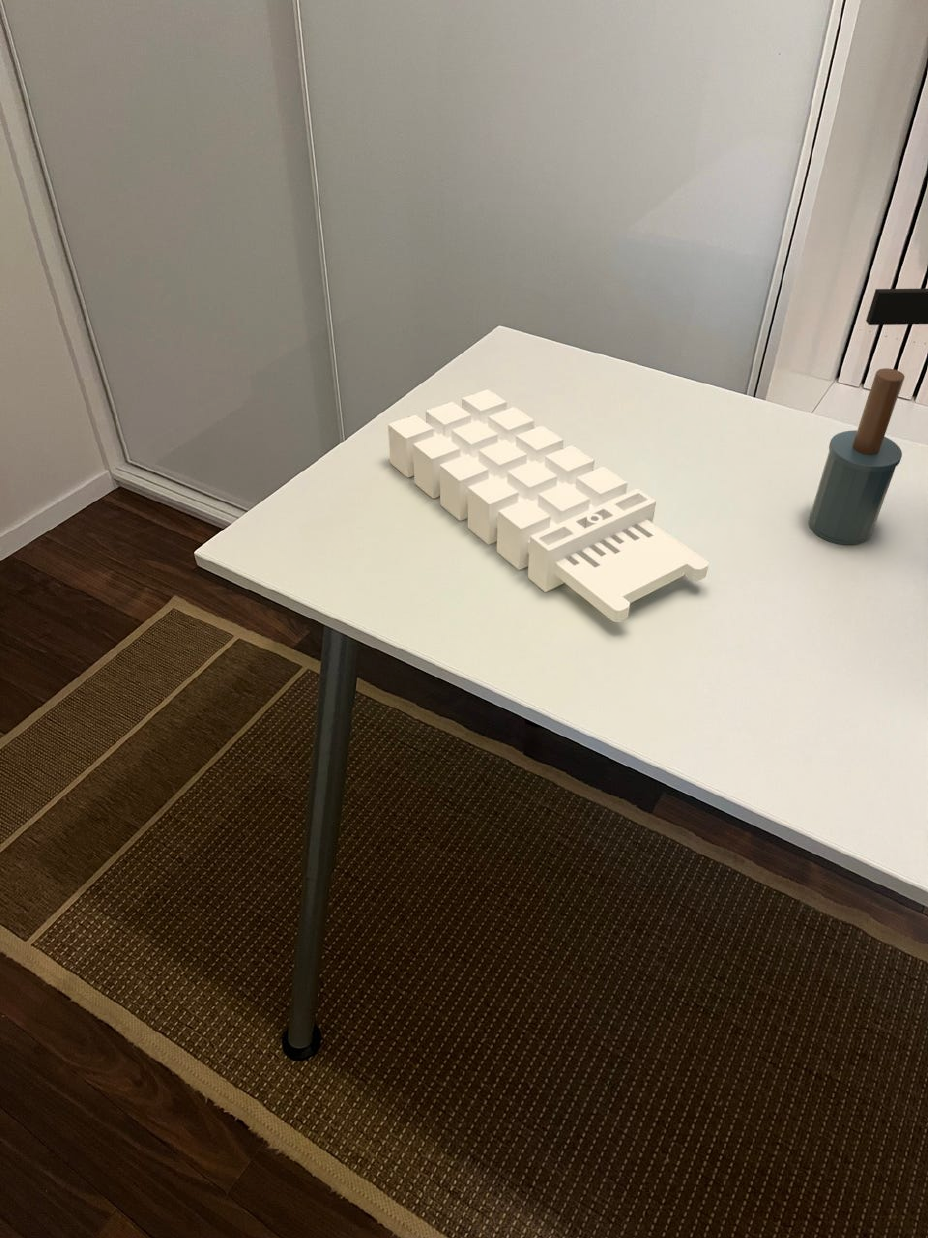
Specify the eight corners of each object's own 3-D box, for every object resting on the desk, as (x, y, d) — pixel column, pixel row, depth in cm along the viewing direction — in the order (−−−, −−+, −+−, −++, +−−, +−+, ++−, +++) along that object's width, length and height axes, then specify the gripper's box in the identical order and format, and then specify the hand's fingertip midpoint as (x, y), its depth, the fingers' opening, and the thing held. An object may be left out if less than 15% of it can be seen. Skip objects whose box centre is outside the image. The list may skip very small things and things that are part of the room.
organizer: (487, 389, 105) (721, 545, 84) (486, 426, 108) (712, 586, 87) (387, 424, 99) (612, 600, 78) (390, 463, 102) (606, 643, 81)
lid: (897, 447, 90) (927, 363, 84) (898, 482, 86) (930, 396, 80) (828, 436, 92) (853, 353, 86) (825, 470, 87) (851, 385, 81)
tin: (871, 515, 95) (897, 442, 90) (871, 549, 91) (898, 475, 85) (810, 504, 97) (831, 432, 91) (807, 538, 93) (829, 464, 87)
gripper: (1258, 471, 65) (957, 476, 65) (1071, 318, 84) (836, 321, 83) (1324, 372, 60) (999, 376, 60) (1110, 232, 79) (861, 235, 78)
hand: (904, 344), depth 71 cm, fingers open, 13 cm apart
